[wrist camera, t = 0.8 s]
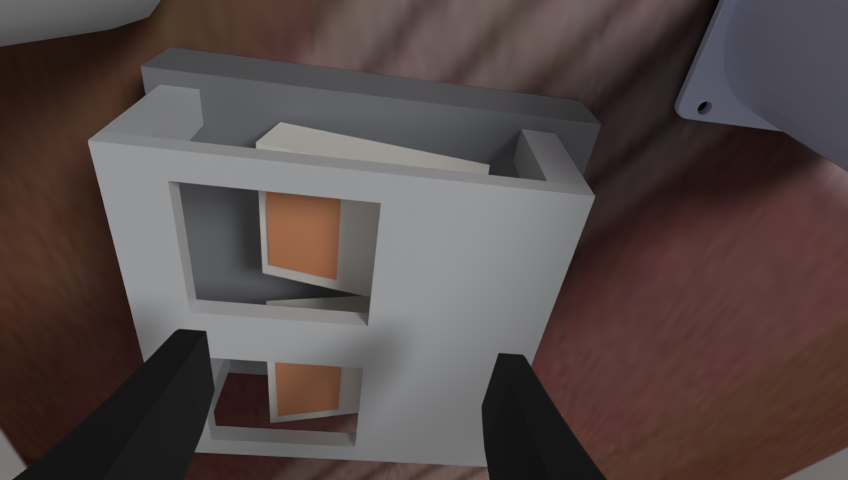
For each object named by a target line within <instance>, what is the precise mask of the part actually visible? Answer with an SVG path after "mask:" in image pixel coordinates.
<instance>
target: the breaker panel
mask: <svg viewBox="0 0 848 480" xmlns="http://www.w3.org/2000/svg"><path fill="white" fill-rule="evenodd" d="M141 71H142V77H143V83H144V89H145V94H146V96H144V97H143V98H142V99H141V100H139V101H138V102H137V103H135V104H134V105H133V106H132V107H130V108H129V109H128V110H126V111H125V112H124V113H123V114H121V115H120V116H119V117H117V118H116V119H115V120H114V121H112V122H111V123H110V124H108V125H107V126H106V127H105V128H103V129H102V130H101V131H99V132H98V133H97V134H96V135H94V136H93V137H92V138H90V139H89V140H88V144H89V148H90V152H91V156H92V159H93V163H94V167H95V171H96V175H97V179H98V183H99V187H100V191H101V195H102V199H103V203H104V207H105V211H106V215H107V218H108V222H109V226H110V230H111V234H112V238H113V242H114V246H115V250H116V254H117V258H118V262H119V266H120V270H121V273H122V277H123V281H124V285H125V289H126V293H127V297H128V301H129V305H130V309H131V313H132V317H133V321H134V325H135V329H136V332H137V336H138V340H139V344H140V348H141V352H142V356H143V360H144V363H145V361H146V360H147V359H148V358H149V357H150V356H151V355H152V354H153V353H154V352H155V351H156V350H157V349H158V348H159V347H160V346H161V345H162V344H163V343H164V342H165V341H166V340H167V339H168V338H169V337H170V336H171V335H172V334H173V332H175V331H176V330H177V329H189V330H202V331H206V332H207V339H208V346H209V353H210V359H211V366H212V373H213V380H214V387H215V391H214V395H213V398H212V402H211V406H210V409H209V413H208V416H207V419H206V423H205V426H204V429H203V433H202V435H201V438H200V440H199V443H198V445H197V448H196V450H195V452H201V453H221V454H241V455H262V456H282V457H302V458H322V459H342V460H363V461H383V462H403V463H423V464H444V465H464V466H484V467H487V462H486V456H485V450H484V440H483V427H482V410H481V406H482V403H483V400H484V397H485V394H486V391H487V387H488V384H489V381H490V378H491V375H492V372H493V369H494V366H495V363H496V360H497V356H498V353H508V354H522V355H524V356H525V357H526V359H527V360H528V362H529V364H530V365H531V364H532V362H533V359H534V356H535V354H536V351H537V348H538V346H539V343H540V341H541V338H542V335H543V333H544V330H545V327H546V325H547V322H548V320H549V317H550V314H551V312H552V309H553V306H554V304H555V301H556V299H557V296H558V293H559V291H560V288H561V285H562V283H563V280H564V278H565V275H566V272H567V270H568V267H569V264H570V262H571V259H572V257H573V254H574V251H575V249H576V246H577V243H578V241H579V238H580V236H581V233H582V230H583V228H584V225H585V222H586V220H587V217H588V215H589V212H590V209H591V207H592V204H593V201H594V199H595V195H594V194H593V192H592V190H591V189H590V187H589V186H588V184H587V183H586V181H585V179H584V178H583V175H584V173H585V170H586V167H587V164H588V161H589V159H590V156H591V153H592V150H593V147H594V145H595V142H596V139H597V136H598V133H599V130H600V128H601V123H600V122H599V121H598V120H597V119H596V118H595V116H594V115H593V114H592V113H591V112H590V111H589V109H588V108H587V107H586V106H585V105H584V104H583V102H582V101H579V100H571V99H563V98H556V97H548V96H541V95H533V94H525V93H518V92H510V91H502V90H495V89H487V88H479V87H472V86H464V85H457V84H449V83H441V82H434V81H426V80H418V79H411V78H403V77H396V76H388V75H380V74H373V73H365V72H357V71H350V70H342V69H334V68H327V67H319V66H312V65H304V64H296V63H289V62H281V61H273V60H266V59H258V58H250V57H243V56H235V55H228V54H220V53H212V52H205V51H197V50H189V49H182V48H174V47H170V48H168V49H167V50H165V51H163V52H162V53H160V54H159V55H157V56H156V57H154V58H153V59H151V60H150V61H148V62H147V63H145V64H143V65H142V66H141ZM280 122H283V123H287V124H292V125H297V126H302V127H307V128H312V129H317V130H322V131H327V132H331V133H336V134H341V135H346V136H351V137H356V138H361V139H366V140H370V141H375V142H380V143H385V144H390V145H395V146H400V147H405V148H409V149H414V150H419V151H424V152H429V153H434V154H439V155H444V156H448V157H453V158H458V159H463V160H468V161H473V162H478V163H483V164H488V165H490V167H489V173H488V175H486V174H478V173H469V172H460V171H451V170H442V169H433V168H424V167H415V166H406V165H398V164H389V163H380V162H371V161H362V160H353V159H344V158H335V157H326V156H317V155H309V154H300V153H291V152H282V151H273V150H264V149H256V142H257V141H258V140H259V139H261V138H262V137H263V136H264V135H266V134H267V133H268V132H269V131H270V130H272V129H273V128H274V127H275V126H276V125H278V124H279V123H280ZM258 190H260V191H270V192H279V193H289V194H299V195H308V196H318V197H327V198H337V199H347V200H356V201H366V202H376V203H381V204H380V213H379V223H378V232H377V242H376V251H375V261H374V270H373V280H372V289H371V299H370V308H369V313H358V312H346V311H333V310H321V309H308V308H296V307H284V306H271V305H266V301H276V300H294V299H312V298H330V297H349V296H362V295H357V294H353V293H349V292H344V291H340V290H335V289H331V288H327V287H322V286H318V285H313V284H309V283H305V282H300V281H296V280H291V279H287V278H283V277H278V276H274V275H269V274H265V273H263V270H262V251H261V232H260V213H259V194H258ZM267 362H279V363H294V364H308V365H323V366H337V367H352V368H363V375H362V384H361V394H360V403H359V413H358V422H357V432H356V433H338V432H319V431H301V430H283V429H265V428H247V427H229V426H216V424H215V418H214V409H215V407H216V404H217V401H218V398H219V396H220V393H221V390H222V388H223V385H224V382H225V379H226V377H227V374H228V373H243V374H258V375H268V367H267Z"/></svg>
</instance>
